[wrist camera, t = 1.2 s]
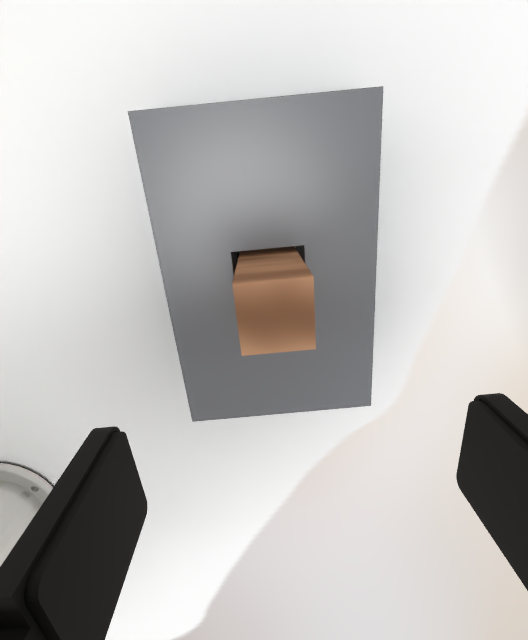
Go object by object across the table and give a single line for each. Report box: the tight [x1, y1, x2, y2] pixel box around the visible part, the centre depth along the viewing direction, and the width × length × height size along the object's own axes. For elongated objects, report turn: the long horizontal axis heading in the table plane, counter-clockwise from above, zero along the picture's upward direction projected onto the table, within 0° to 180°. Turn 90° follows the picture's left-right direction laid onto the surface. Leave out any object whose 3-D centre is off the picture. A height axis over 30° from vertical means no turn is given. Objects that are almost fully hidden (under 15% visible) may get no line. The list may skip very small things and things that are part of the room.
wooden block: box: [232, 246, 316, 356], centre depth 25 cm, size 4×4×13 cm
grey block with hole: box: [128, 86, 383, 421], centre depth 28 cm, size 24×16×6 cm, turn 5°
